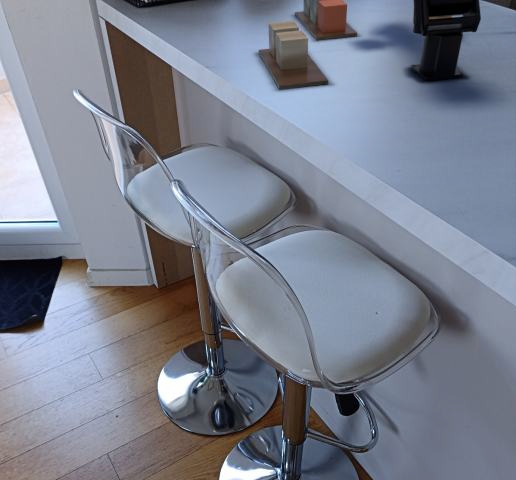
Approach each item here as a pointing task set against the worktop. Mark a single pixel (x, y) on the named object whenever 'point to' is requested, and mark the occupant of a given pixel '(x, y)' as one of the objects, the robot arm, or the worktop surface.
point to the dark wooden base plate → (311, 22)
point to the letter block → (332, 16)
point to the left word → (290, 57)
